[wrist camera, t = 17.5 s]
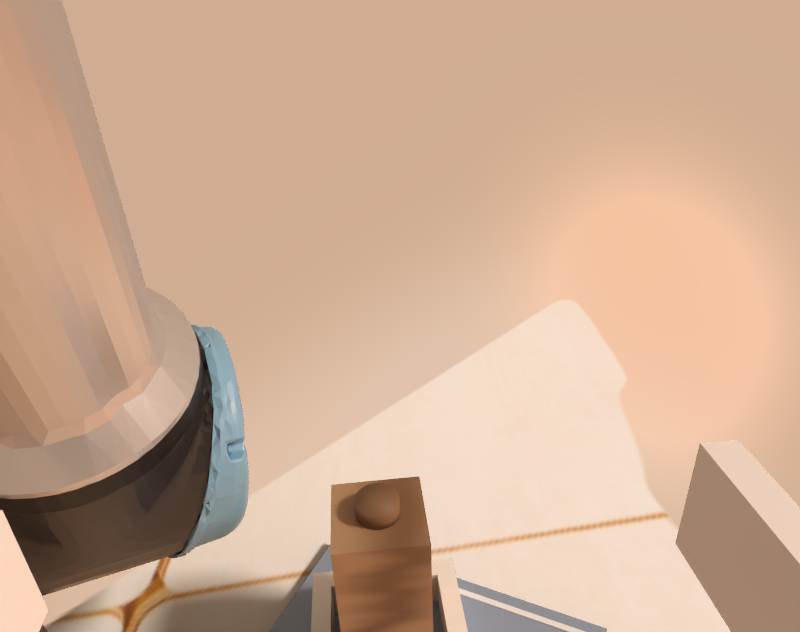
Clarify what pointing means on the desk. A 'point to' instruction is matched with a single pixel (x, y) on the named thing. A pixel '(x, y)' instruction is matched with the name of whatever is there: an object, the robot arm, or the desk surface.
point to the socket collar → (442, 592)
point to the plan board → (483, 609)
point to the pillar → (381, 556)
